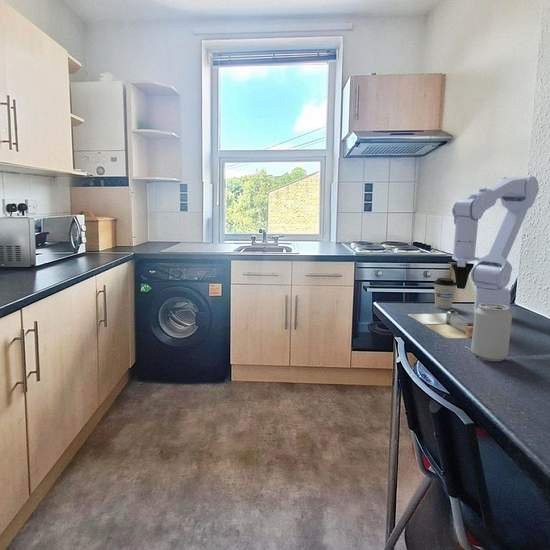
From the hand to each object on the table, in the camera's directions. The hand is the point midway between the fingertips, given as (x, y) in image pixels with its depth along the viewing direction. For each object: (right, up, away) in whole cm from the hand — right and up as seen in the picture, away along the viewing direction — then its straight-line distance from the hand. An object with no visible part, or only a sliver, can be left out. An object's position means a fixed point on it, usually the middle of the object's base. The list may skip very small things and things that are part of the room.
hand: (460, 288), depth 125 cm
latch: (-4, -10, -8) cm, 14 cm away
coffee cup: (+1, -8, +16) cm, 18 cm away
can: (-5, -15, -27) cm, 31 cm away
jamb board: (-4, -11, -4) cm, 12 cm away
